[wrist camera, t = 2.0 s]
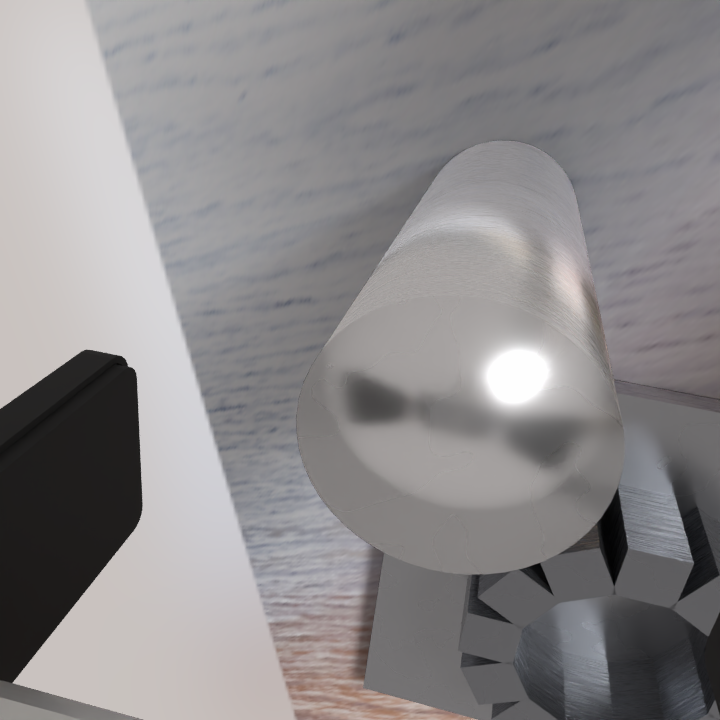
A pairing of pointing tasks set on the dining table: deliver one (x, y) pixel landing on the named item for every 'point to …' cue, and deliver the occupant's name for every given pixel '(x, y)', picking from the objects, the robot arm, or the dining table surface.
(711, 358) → the dining table surface
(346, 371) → the dome-topped grey cylinder
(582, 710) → the duct flange
